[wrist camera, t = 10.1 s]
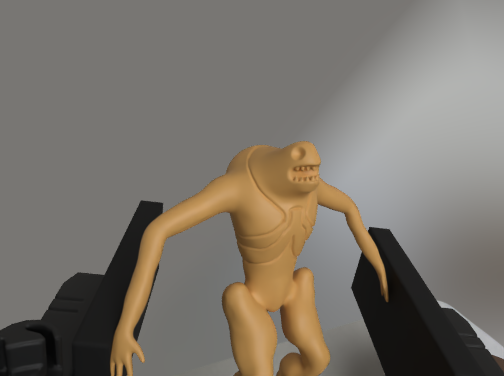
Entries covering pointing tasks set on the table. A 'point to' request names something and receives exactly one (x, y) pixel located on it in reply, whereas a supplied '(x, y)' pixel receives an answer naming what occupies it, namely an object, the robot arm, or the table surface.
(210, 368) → the table surface
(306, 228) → the figurine
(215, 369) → the table surface
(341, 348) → the table surface
